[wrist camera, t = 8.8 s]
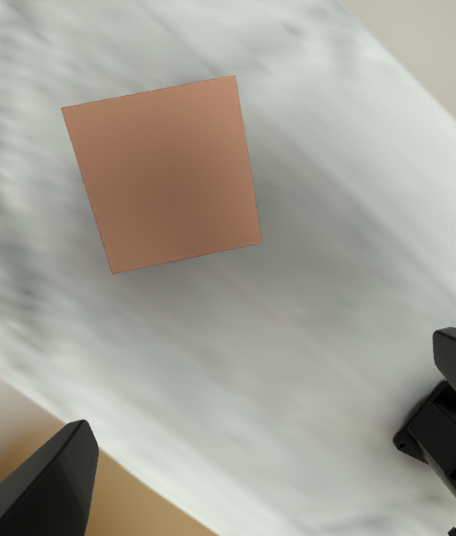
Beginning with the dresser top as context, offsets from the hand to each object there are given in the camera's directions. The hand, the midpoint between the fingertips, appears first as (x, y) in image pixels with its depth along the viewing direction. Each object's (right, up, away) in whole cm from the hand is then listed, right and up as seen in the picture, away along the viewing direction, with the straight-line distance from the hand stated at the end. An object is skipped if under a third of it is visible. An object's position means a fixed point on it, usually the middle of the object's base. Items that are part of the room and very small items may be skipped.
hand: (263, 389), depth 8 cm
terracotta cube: (-3, +7, +5) cm, 9 cm away
